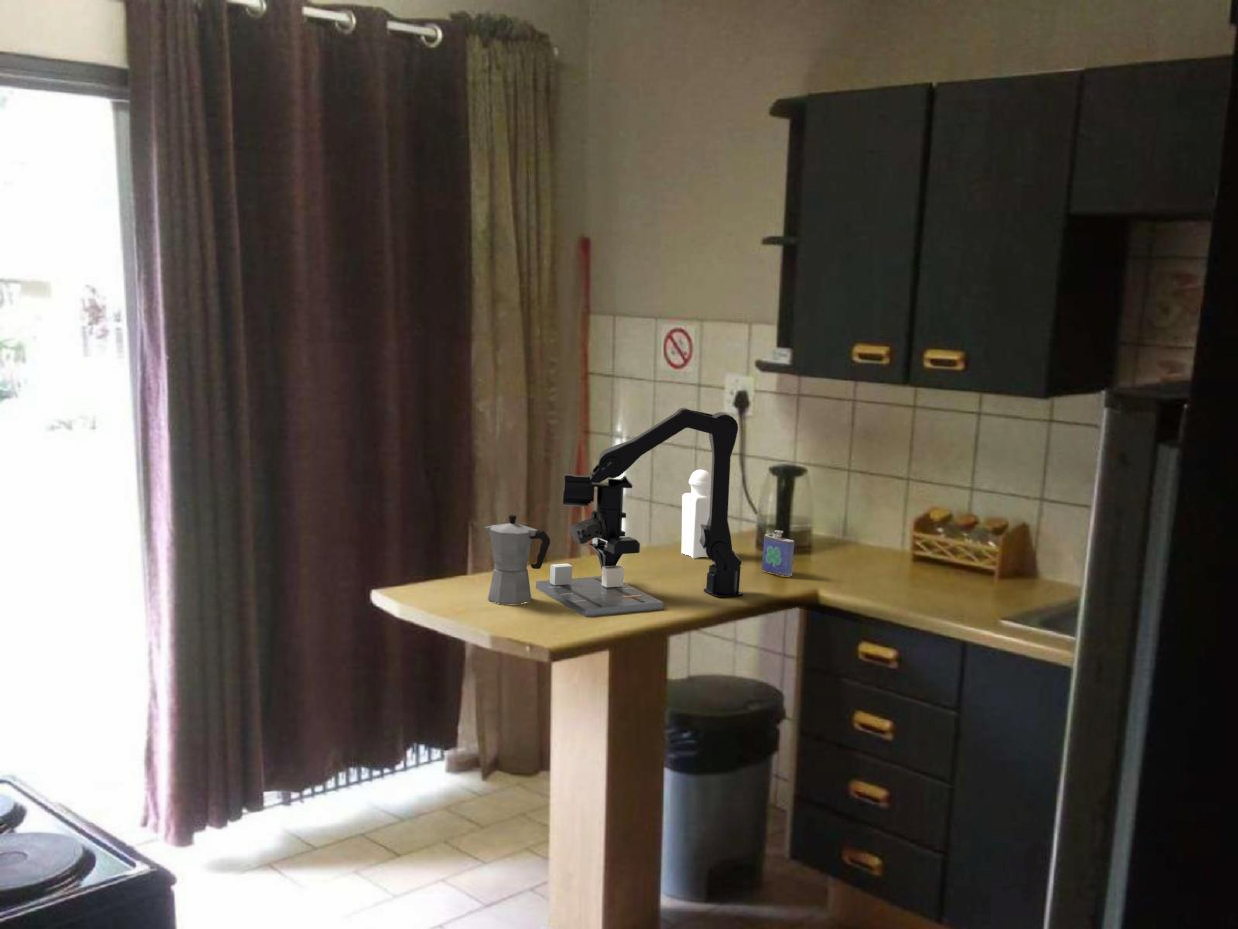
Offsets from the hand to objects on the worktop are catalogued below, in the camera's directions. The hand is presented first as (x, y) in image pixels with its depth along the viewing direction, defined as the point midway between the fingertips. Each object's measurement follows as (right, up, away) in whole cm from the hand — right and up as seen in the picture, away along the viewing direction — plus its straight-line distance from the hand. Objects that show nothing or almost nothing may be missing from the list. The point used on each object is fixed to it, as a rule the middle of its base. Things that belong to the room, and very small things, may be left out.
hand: (606, 577), depth 250 cm
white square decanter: (+22, +1, +39) cm, 45 cm away
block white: (-10, -1, -3) cm, 10 cm away
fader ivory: (+1, -1, -3) cm, 3 cm away
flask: (+40, -2, +23) cm, 47 cm away
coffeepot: (-19, -4, -12) cm, 23 cm away
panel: (-2, -4, -7) cm, 8 cm away
